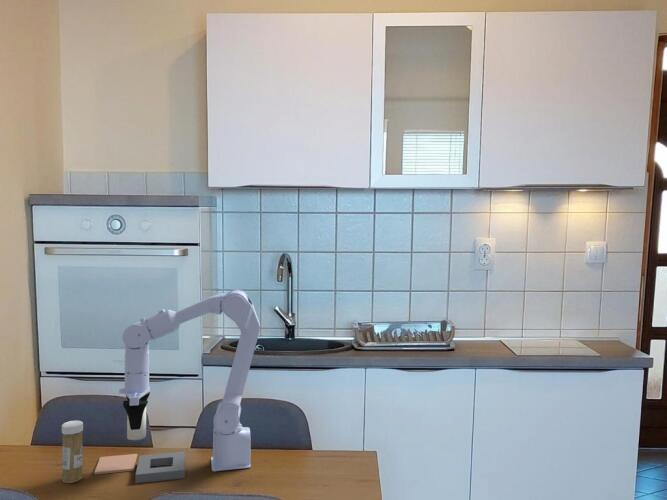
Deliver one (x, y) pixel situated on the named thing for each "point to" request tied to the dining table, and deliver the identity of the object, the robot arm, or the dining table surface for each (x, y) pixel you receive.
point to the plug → (137, 433)
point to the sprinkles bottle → (72, 451)
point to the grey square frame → (160, 473)
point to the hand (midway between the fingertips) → (136, 425)
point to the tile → (116, 464)
